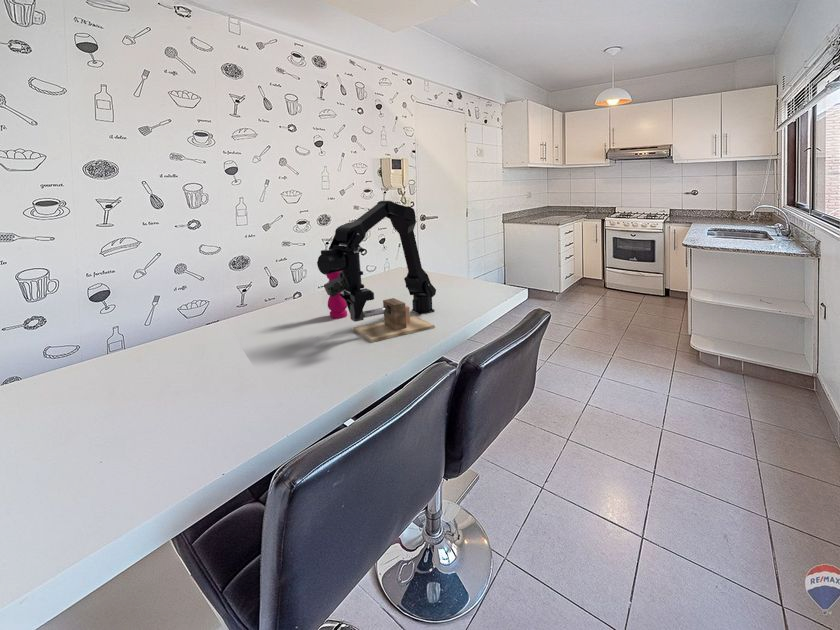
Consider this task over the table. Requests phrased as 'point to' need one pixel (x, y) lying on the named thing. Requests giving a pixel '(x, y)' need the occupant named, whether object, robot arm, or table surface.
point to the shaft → (369, 312)
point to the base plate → (384, 332)
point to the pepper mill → (336, 301)
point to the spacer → (407, 314)
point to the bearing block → (395, 314)
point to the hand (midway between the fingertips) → (354, 317)
